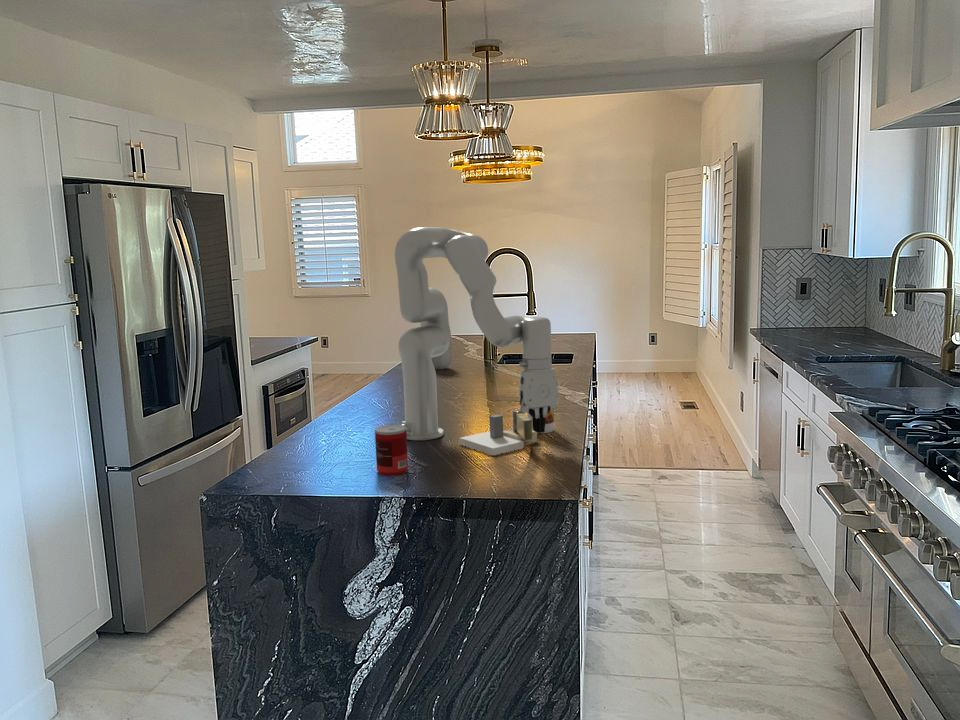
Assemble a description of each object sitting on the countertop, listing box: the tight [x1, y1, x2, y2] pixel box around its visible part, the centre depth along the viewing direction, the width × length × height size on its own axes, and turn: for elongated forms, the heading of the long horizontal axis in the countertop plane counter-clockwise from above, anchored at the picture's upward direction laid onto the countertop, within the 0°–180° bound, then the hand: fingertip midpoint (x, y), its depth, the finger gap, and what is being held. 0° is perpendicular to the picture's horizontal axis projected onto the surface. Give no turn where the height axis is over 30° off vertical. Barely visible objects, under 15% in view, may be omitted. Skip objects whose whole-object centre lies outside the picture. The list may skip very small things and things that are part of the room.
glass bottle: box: [431, 326, 452, 370], centre depth 344 cm, size 10×10×28 cm
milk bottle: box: [526, 407, 555, 434], centre depth 231 cm, size 8×8×20 cm
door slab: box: [458, 414, 525, 456], centre depth 217 cm, size 10×15×8 cm
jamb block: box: [503, 428, 538, 446], centre depth 221 cm, size 7×7×3 cm
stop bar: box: [512, 409, 532, 440], centre depth 216 cm, size 13×3×5 cm, turn 10°
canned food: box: [374, 424, 409, 477], centre depth 196 cm, size 8×8×11 cm
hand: (539, 431), depth 213 cm, fingers closed
